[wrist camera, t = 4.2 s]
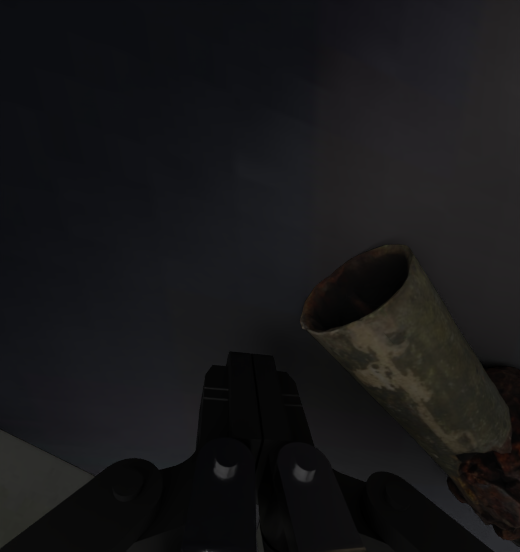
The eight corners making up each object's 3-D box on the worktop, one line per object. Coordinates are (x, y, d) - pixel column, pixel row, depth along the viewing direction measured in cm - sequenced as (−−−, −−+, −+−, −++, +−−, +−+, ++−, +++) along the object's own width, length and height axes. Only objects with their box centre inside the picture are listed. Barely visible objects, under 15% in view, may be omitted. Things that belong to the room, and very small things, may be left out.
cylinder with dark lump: (288, 299, 15) (325, 382, 9) (414, 200, 14) (537, 230, 8) (458, 488, 20) (539, 604, 15) (554, 429, 20) (676, 531, 14)
